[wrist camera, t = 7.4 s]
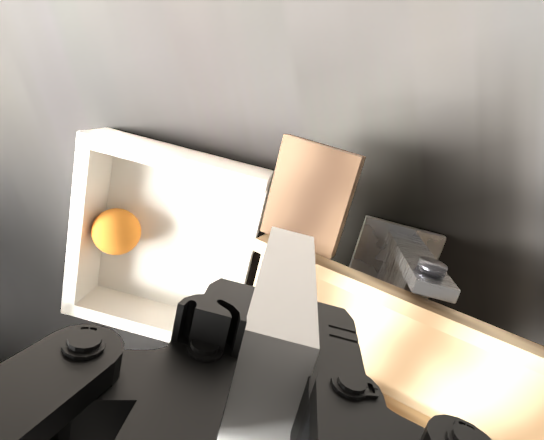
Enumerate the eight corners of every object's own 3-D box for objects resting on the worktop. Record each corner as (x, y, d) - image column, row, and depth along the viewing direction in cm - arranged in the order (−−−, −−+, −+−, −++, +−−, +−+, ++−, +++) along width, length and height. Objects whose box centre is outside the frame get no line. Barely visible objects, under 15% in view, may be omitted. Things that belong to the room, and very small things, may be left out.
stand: (325, 338, 33) (328, 423, 25) (366, 213, 30) (387, 260, 21) (395, 357, 33) (424, 450, 24) (444, 234, 30) (498, 289, 21)
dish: (88, 289, 34) (60, 313, 31) (106, 127, 30) (76, 131, 26) (234, 329, 34) (224, 358, 30) (273, 170, 30) (267, 180, 26)
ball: (79, 247, 30) (105, 267, 28) (83, 203, 29) (111, 221, 27) (120, 240, 33) (147, 257, 31) (126, 199, 32) (153, 215, 30)
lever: (242, 323, 29) (224, 338, 27) (289, 134, 25) (272, 133, 23) (557, 484, 22) (567, 522, 20) (699, 254, 18) (733, 271, 16)
